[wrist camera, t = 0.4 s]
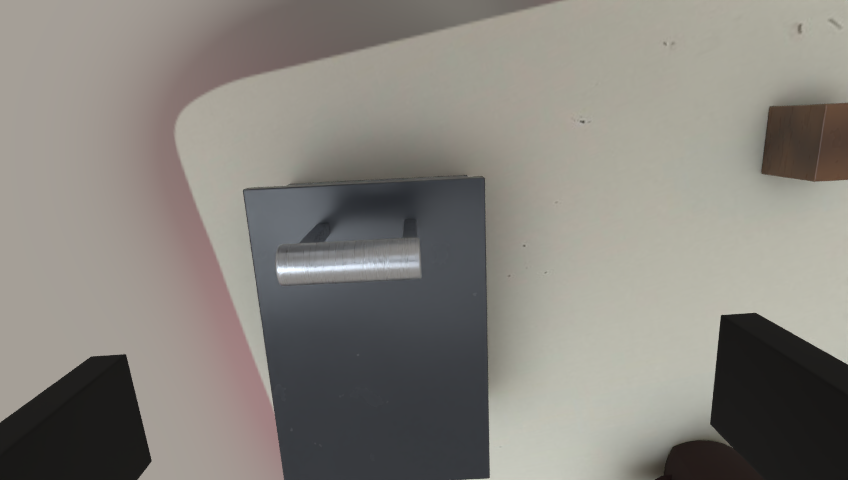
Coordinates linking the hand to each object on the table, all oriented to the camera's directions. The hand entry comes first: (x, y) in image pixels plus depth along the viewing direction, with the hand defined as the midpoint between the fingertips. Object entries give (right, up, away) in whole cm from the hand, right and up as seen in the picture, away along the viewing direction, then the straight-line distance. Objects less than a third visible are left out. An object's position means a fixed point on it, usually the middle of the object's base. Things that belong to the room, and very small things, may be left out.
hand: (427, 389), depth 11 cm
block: (+28, +11, +25) cm, 39 cm away
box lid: (-3, -3, +19) cm, 19 cm away
